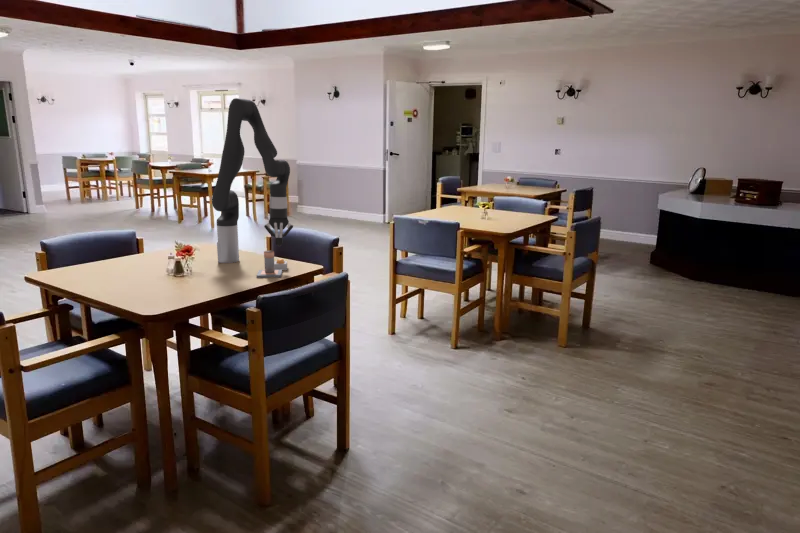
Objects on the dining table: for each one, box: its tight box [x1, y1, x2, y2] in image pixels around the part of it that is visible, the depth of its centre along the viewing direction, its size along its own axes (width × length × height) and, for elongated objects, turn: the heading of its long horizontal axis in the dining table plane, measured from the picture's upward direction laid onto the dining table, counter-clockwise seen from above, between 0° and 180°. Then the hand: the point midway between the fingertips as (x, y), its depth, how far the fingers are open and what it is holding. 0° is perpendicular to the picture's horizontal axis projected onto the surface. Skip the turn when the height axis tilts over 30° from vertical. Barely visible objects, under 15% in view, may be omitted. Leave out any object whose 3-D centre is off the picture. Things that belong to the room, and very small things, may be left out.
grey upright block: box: [263, 249, 275, 273], centre depth 240 cm, size 4×4×9 cm
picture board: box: [256, 269, 283, 279], centre depth 242 cm, size 10×10×1 cm
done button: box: [276, 258, 285, 264], centre depth 251 cm, size 3×3×3 cm
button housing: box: [274, 260, 288, 271], centre depth 252 cm, size 6×6×3 cm
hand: (279, 245), depth 249 cm, fingers closed
